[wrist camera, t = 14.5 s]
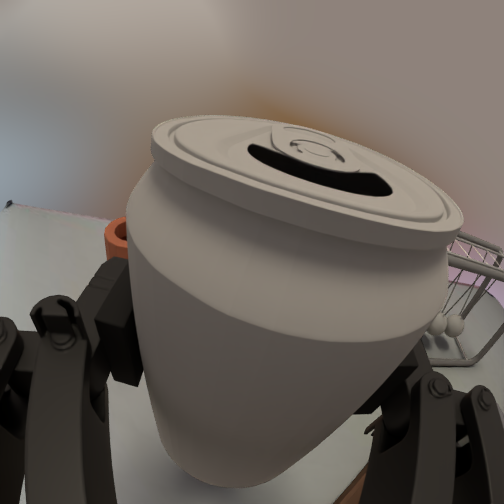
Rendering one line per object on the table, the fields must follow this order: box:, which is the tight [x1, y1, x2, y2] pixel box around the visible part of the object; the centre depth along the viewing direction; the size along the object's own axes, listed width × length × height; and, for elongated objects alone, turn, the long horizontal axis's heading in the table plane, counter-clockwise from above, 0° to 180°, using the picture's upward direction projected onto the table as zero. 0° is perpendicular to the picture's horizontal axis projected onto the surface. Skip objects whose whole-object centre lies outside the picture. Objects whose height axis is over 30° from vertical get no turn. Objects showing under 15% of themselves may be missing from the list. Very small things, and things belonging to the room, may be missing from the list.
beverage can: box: [126, 115, 463, 488], centre depth 8 cm, size 6×6×12 cm
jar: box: [104, 217, 128, 261], centre depth 34 cm, size 7×7×11 cm
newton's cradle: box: [427, 231, 504, 366], centre depth 34 cm, size 30×10×18 cm, turn 84°
